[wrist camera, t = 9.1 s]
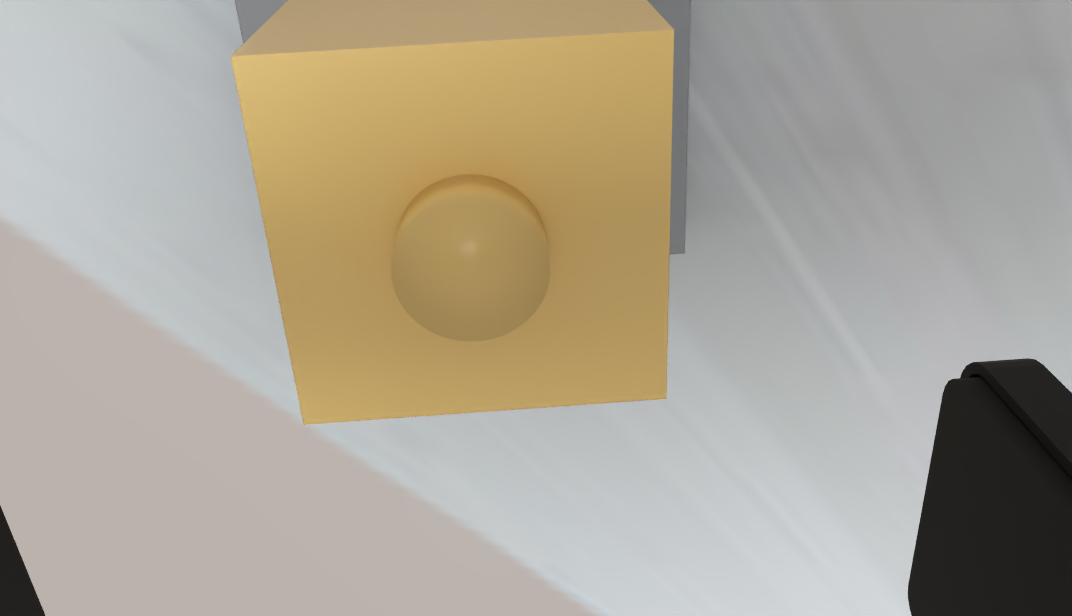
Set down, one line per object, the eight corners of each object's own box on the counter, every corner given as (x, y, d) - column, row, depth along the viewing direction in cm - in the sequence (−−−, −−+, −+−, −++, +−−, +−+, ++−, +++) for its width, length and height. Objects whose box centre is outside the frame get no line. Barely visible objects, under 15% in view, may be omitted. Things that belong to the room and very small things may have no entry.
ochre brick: (618, -31, 19) (687, 45, 13) (620, 257, 22) (677, 432, 16) (300, -13, 19) (213, 72, 13) (345, 275, 22) (293, 458, 16)
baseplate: (685, -192, 24) (703, -192, 22) (676, 237, 30) (691, 267, 28) (215, -164, 24) (191, -162, 22) (296, 264, 29) (283, 296, 27)
